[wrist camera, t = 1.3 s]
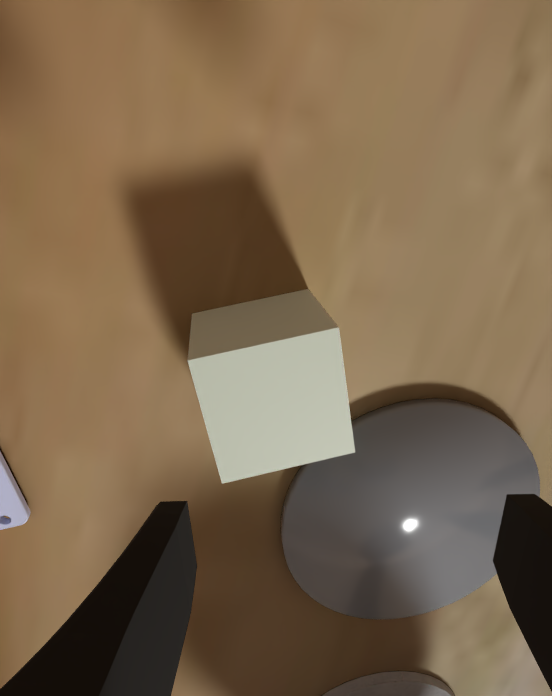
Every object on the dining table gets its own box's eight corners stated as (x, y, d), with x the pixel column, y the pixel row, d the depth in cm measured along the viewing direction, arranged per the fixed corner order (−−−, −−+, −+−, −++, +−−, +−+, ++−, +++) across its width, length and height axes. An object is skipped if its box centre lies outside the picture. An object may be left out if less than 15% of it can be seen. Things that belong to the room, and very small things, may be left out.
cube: (218, 414, 21) (221, 483, 17) (191, 312, 19) (187, 360, 15) (323, 390, 22) (355, 452, 17) (307, 288, 20) (338, 327, 15)
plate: (302, 631, 27) (305, 644, 27) (257, 435, 22) (258, 444, 21) (525, 573, 28) (534, 585, 27) (535, 370, 23) (546, 377, 22)
